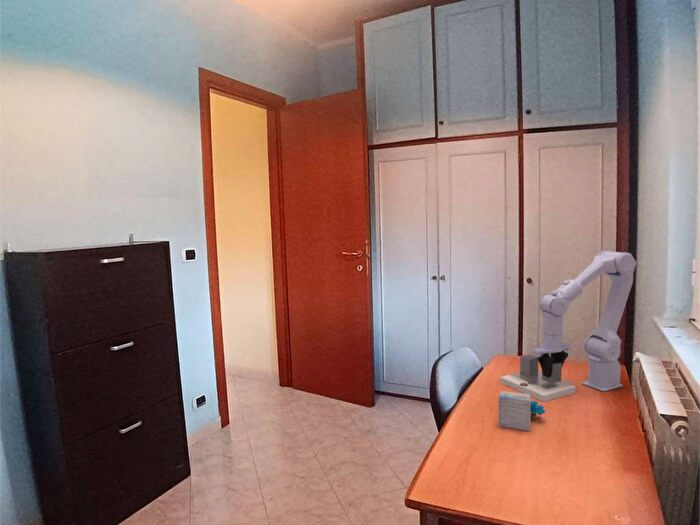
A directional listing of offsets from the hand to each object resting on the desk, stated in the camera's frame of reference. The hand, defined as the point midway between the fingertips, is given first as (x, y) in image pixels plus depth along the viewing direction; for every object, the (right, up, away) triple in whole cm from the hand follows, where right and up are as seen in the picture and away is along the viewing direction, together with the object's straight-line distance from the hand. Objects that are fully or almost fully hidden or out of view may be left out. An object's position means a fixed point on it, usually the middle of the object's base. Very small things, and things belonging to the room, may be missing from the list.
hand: (551, 375), depth 145 cm
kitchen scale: (-3, -5, +4) cm, 7 cm away
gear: (-15, -8, -16) cm, 23 cm away
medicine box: (-20, -9, -22) cm, 30 cm away
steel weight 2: (0, -2, 0) cm, 2 cm away
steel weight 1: (-4, -2, +8) cm, 9 cm away
